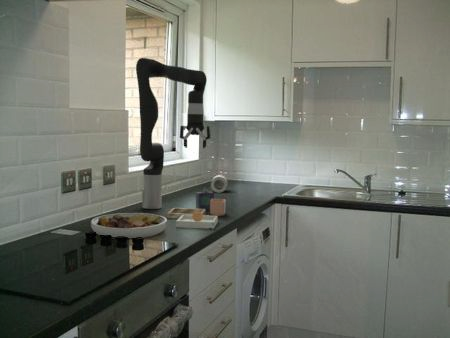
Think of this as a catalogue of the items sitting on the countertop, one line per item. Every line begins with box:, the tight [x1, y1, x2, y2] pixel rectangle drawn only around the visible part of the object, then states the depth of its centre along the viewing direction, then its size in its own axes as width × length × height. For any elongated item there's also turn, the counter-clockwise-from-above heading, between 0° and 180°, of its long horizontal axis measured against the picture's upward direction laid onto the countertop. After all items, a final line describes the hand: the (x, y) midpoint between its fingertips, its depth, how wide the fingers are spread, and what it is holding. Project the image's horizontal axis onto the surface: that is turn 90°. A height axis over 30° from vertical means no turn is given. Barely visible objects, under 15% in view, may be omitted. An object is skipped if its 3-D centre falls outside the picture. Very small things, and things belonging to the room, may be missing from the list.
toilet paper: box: [210, 174, 228, 194], centre depth 312 cm, size 10×10×10 cm
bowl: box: [90, 212, 168, 239], centre depth 199 cm, size 30×30×8 cm
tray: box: [175, 214, 219, 230], centre depth 214 cm, size 16×14×3 cm
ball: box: [192, 211, 203, 221], centre depth 214 cm, size 4×4×4 cm
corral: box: [166, 207, 207, 219], centre depth 233 cm, size 16×14×2 cm
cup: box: [209, 198, 226, 217], centre depth 237 cm, size 7×7×7 cm
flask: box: [195, 188, 215, 211], centre depth 249 cm, size 9×3×11 cm, turn 109°
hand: (195, 147), depth 233 cm, fingers open, 8 cm apart
